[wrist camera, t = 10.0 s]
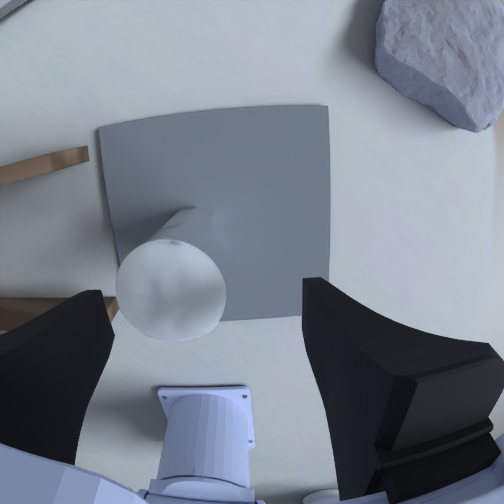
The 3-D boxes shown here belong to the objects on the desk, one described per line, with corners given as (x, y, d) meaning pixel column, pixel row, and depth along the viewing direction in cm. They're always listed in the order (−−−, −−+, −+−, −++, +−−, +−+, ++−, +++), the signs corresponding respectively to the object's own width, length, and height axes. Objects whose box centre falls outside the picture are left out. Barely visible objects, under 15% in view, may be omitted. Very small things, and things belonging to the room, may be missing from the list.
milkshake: (238, 191, 19) (243, 253, 10) (220, 271, 21) (212, 379, 12) (165, 176, 19) (103, 224, 9) (152, 257, 21) (100, 354, 11)
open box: (119, 308, 23) (96, 348, 18) (-8, 307, 23) (-37, 335, 18) (87, 145, 18) (47, 154, 14) (-42, 182, 18) (-81, 198, 14)
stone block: (351, 77, 19) (470, 142, 19) (363, 56, 15) (504, 140, 14) (393, -35, 16) (498, 27, 15) (407, -66, 11) (527, 9, 11)
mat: (325, 308, 23) (326, 312, 23) (137, 319, 23) (135, 323, 23) (325, 106, 18) (327, 105, 18) (102, 127, 18) (98, 127, 17)
